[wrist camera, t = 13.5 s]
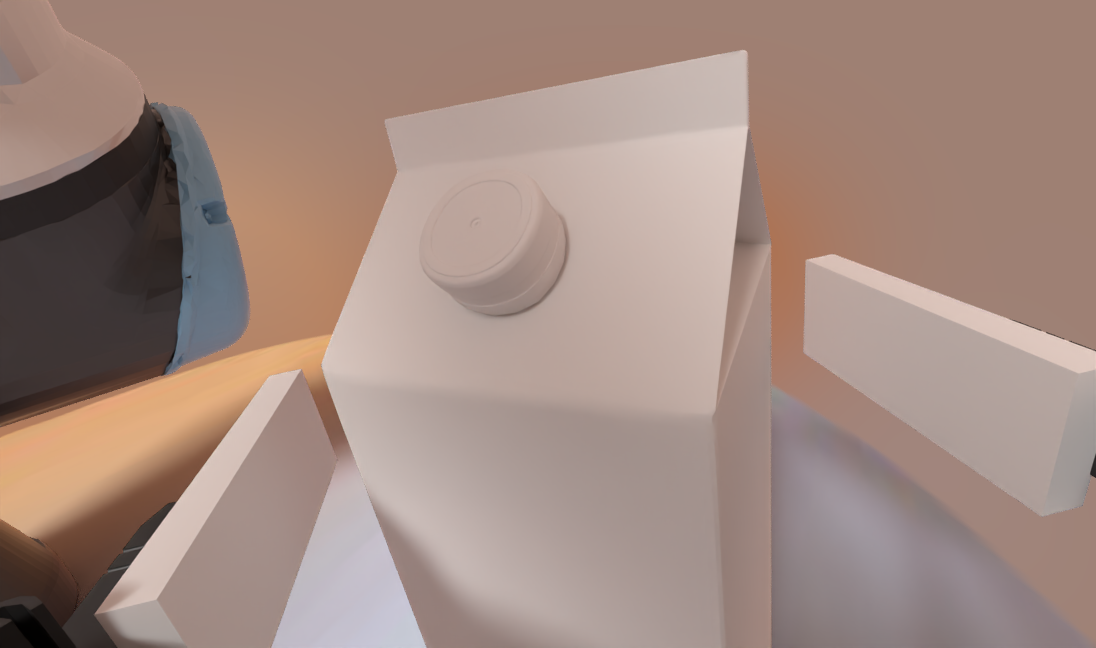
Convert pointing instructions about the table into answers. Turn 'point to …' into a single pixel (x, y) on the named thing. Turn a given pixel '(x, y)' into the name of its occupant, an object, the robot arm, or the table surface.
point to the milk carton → (571, 366)
